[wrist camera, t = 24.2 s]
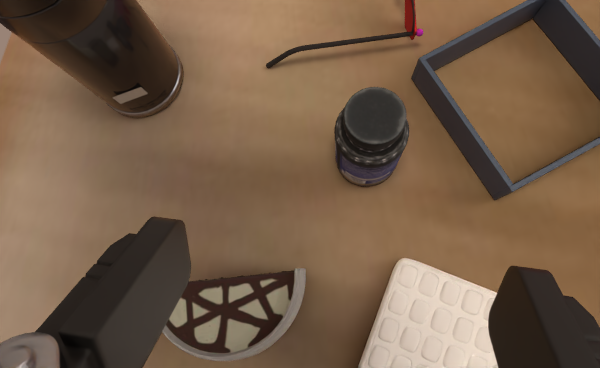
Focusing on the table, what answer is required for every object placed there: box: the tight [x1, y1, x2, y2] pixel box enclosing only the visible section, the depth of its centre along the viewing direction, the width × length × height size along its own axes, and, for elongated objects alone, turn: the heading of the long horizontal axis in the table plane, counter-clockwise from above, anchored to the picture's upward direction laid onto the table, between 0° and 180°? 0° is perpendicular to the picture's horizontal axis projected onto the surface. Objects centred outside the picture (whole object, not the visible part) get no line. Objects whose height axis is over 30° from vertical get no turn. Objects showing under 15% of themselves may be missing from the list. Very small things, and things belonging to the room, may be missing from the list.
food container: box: [162, 268, 306, 361], centre depth 33 cm, size 12×6×10 cm, turn 96°
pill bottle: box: [335, 87, 409, 186], centre depth 35 cm, size 6×6×11 cm
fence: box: [412, 0, 600, 200], centre depth 38 cm, size 15×15×4 cm
